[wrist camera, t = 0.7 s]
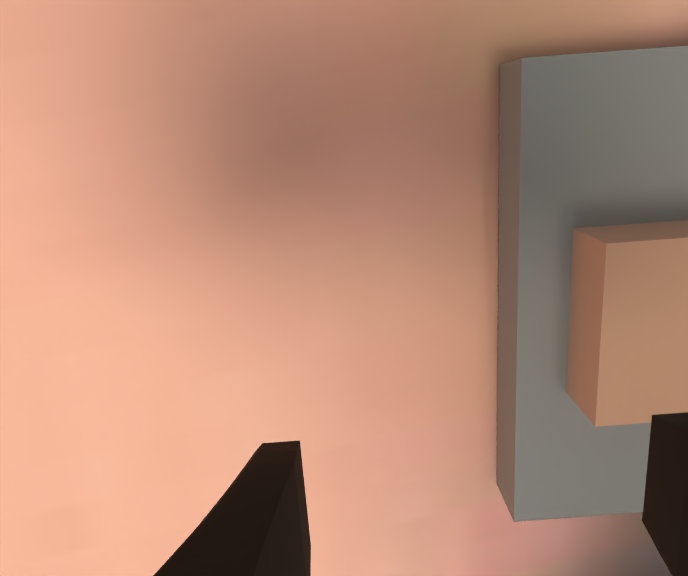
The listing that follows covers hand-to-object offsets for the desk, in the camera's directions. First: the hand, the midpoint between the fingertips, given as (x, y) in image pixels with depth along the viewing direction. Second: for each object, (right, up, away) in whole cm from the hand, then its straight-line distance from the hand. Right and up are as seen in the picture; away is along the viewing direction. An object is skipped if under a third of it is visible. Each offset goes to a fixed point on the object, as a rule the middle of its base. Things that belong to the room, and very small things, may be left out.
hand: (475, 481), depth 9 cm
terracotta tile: (+7, +3, +7) cm, 10 cm away
